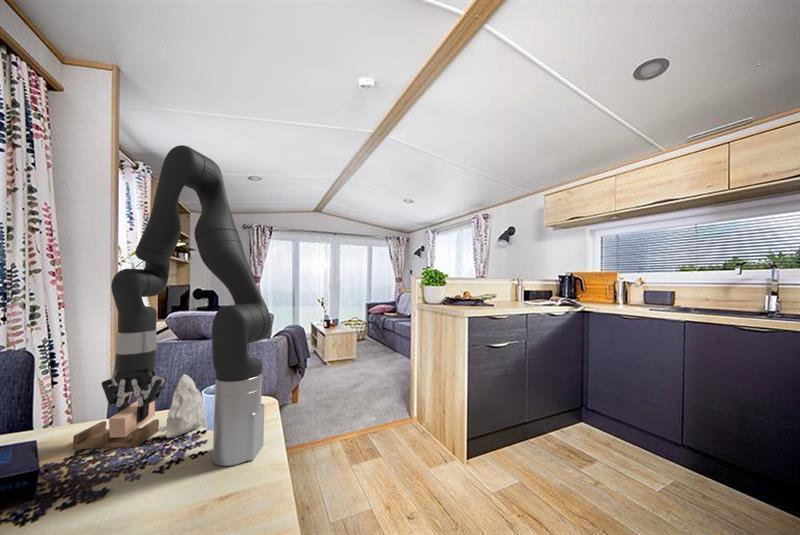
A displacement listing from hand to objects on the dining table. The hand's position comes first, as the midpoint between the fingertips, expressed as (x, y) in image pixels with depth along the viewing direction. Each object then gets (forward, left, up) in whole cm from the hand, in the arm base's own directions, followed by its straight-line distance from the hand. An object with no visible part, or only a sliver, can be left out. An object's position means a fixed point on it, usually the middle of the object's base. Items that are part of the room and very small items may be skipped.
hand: (132, 420), depth 71 cm
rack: (+3, 0, -4) cm, 5 cm away
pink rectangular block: (0, 0, -1) cm, 2 cm away
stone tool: (-11, -1, -5) cm, 12 cm away
